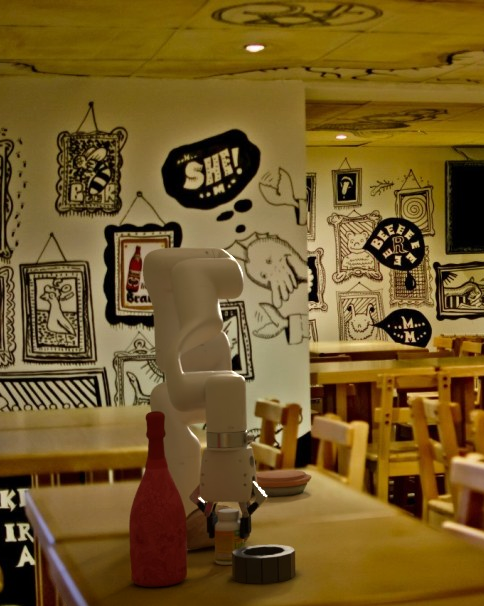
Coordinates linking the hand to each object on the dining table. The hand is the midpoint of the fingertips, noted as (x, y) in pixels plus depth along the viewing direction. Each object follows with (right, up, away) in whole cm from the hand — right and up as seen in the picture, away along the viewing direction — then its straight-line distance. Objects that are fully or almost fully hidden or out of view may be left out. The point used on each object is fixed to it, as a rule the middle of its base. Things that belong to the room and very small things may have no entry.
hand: (229, 536), depth 232 cm
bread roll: (-5, -5, +14) cm, 16 cm away
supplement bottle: (0, -5, 0) cm, 5 cm away
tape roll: (+8, -5, -12) cm, 15 cm away
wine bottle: (-10, -6, -14) cm, 18 cm away
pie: (0, -4, +76) cm, 76 cm away
